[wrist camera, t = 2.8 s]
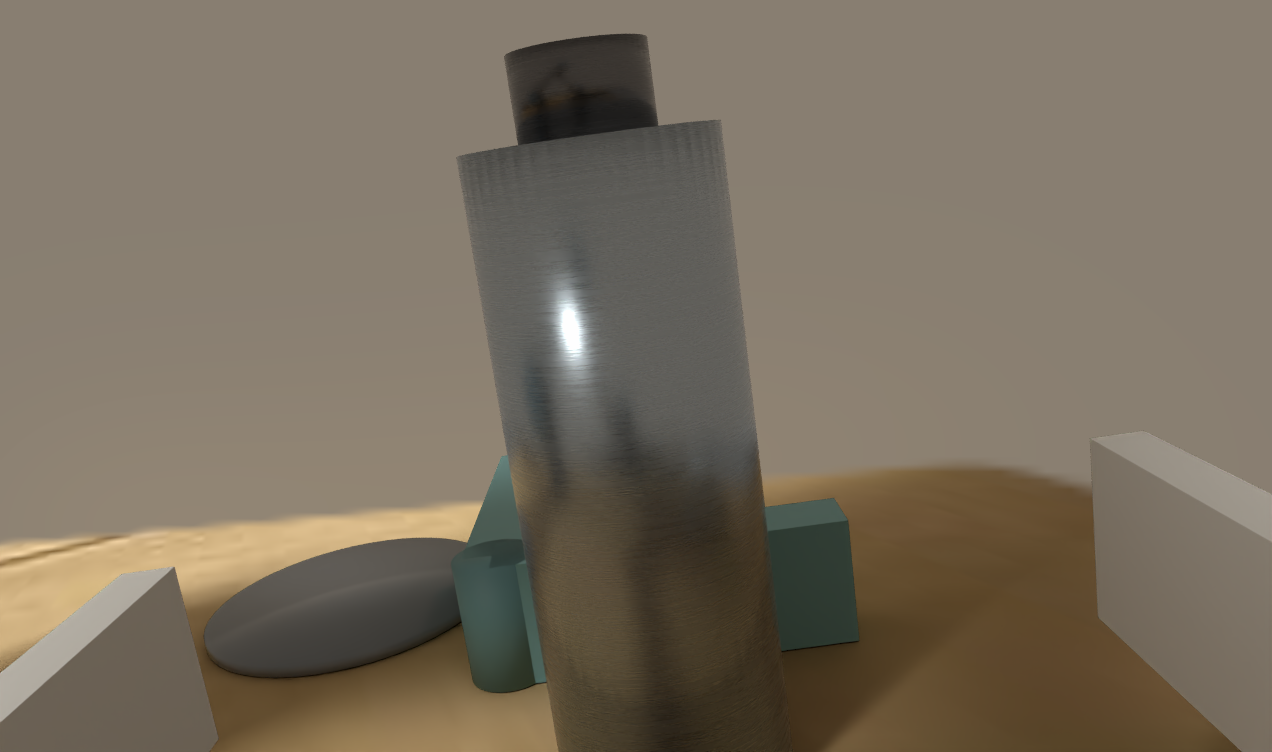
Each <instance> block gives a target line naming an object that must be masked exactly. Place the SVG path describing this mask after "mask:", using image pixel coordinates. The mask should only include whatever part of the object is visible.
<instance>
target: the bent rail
mask: <svg viewBox="0 0 1272 752" xmlns="http://www.w3.org/2000/svg"><path fill="white" fill-rule="evenodd" d="M765 512H766V521H767V530H768V538H769V547H770V556H771V565H772V573H773V582H774V591H775V600H776V608H777V617H778V626H779V635H780V643H781V651H784V650H791V649H799V648H807V647H814V646H822V645H829V644H837V643H844V642H852V641H859V632H858V621H857V610H856V599H855V589H854V578H853V567H852V556H851V545H850V535H849V524H848V519H847V518H846V516H845V515H844V513H843V511H842V510H841V508H840V507H839V505H838V504H837V502H836V501H835V499H834V498H830V499H822V500H815V501H807V502H800V503H793V504H785V505H778V506H770V507H765ZM451 568H452V573H453V578H454V583H455V589H456V594H457V599H458V605H459V610H460V615H461V621H462V626H463V631H464V637H465V642H466V647H467V653H468V658H469V663H470V668H471V674H472V679H473V683H474V684H475V686H477V687H478V688H479V689H481V690H484V691H488V692H497V693H500V692H511V691H516V690H520V689H523V688H526V687H529V686H531V685H533V684H535V683H542V682H546V676H545V670H544V664H543V658H542V653H541V647H540V641H539V635H538V629H537V624H536V618H535V612H534V606H533V600H532V594H531V589H530V583H529V577H528V571H527V565H526V560H525V554H524V548H523V542H522V536H521V531H520V525H519V519H518V513H517V507H516V501H515V496H514V490H513V484H512V478H511V472H510V467H509V461H508V455H507V456H502V457H501V459H500V462H499V464H498V467H497V469H496V472H495V474H494V477H493V480H492V482H491V485H490V487H489V490H488V492H487V495H486V497H485V500H484V502H483V505H482V507H481V510H480V512H479V515H478V517H477V520H476V523H475V525H474V528H473V530H472V533H471V535H470V538H469V540H468V543H467V545H466V548H465V550H463V551H461V552H459V553H458V554H457V555H456V556H454V558H453V559H452V561H451Z"/></svg>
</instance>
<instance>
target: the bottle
mask: <svg viewBox="0 0 1272 752" xmlns="http://www.w3.org/2000/svg"><path fill="white" fill-rule="evenodd" d="M504 59H505V66H506V72H507V78H508V85H509V91H510V97H511V103H512V109H513V116H514V122H515V128H516V135H517V140H518V146H511V147H505V148H499V149H494V150H488V151H482V152H476V153H471V154H466V155H462V156H458V157H457V158H456V159H457V164H458V170H459V176H460V182H461V188H462V193H463V199H464V205H465V210H466V217H467V222H468V228H469V234H470V240H471V246H472V251H473V257H474V263H475V269H476V275H477V281H478V286H479V292H480V298H481V304H482V309H483V315H484V321H485V327H486V333H487V339H488V344H489V349H490V356H491V362H492V368H493V373H494V379H495V385H496V391H497V396H498V403H499V408H500V414H501V420H502V426H503V432H504V438H505V443H506V449H507V455H508V461H509V467H510V472H511V478H512V484H513V490H514V496H515V501H516V507H517V513H518V519H519V525H520V531H521V536H522V542H523V548H524V554H525V560H526V565H527V571H528V577H529V583H530V589H531V594H532V600H533V606H534V612H535V618H536V624H537V629H538V635H539V641H540V647H541V653H542V658H543V664H544V670H545V676H546V682H547V687H548V693H549V699H550V705H551V711H552V717H553V722H554V728H555V734H556V740H557V746H558V751H559V752H793V749H792V740H791V731H790V722H789V714H788V705H787V696H786V687H785V679H784V670H783V661H782V652H781V643H780V635H779V626H778V617H777V608H776V600H775V591H774V582H773V573H772V565H771V556H770V547H769V538H768V530H767V521H766V512H765V503H764V495H763V486H762V477H761V469H760V459H759V451H758V442H757V433H756V425H755V417H754V407H753V398H752V389H751V381H750V372H749V363H748V355H747V347H746V337H745V328H744V320H743V310H742V302H741V293H740V284H739V275H738V267H737V258H736V249H735V240H734V232H733V223H732V214H731V205H730V197H729V188H728V179H727V170H726V162H725V153H724V144H723V136H722V126H721V120H709V121H698V122H687V123H679V124H670V125H661V126H658V121H657V120H658V119H657V112H656V104H655V96H654V88H653V80H652V72H651V64H650V57H649V49H648V41H647V36H645V35H640V34H610V35H598V36H589V37H580V38H574V39H566V40H560V41H554V42H548V43H543V44H539V45H534V46H530V47H526V48H522V49H518V50H515V51H512V52H510V53H508V54H506V55H505V56H504Z"/></svg>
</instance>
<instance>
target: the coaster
mask: <svg viewBox="0 0 1272 752" xmlns="http://www.w3.org/2000/svg"><path fill="white" fill-rule="evenodd" d="M466 545H467V543H466V542H461V541H457V540H451V539H443V538H406V539H395V540H386V541H380V542H373V543H368V544H363V545H358V546H353V547H349V548H345V549H341V550H337V551H333V552H330V553H326V554H323V555H319V556H316V557H313V558H310V559H307V560H304V561H302V562H299V563H297V564H294V565H291V566H289V567H286V568H284V569H282V570H280V571H277V572H275V573H273V574H271V575H269V576H267V577H265V578H263V579H261V580H259V581H257V582H255V583H253V584H252V585H250V586H248V587H247V588H245V589H243V590H242V591H240V592H239V593H237V594H236V595H234V596H233V597H232V598H231V599H229V600H228V601H227V602H226V603H224V604H223V605H222V606H221V607H220V608H219V609H218V610H217V611H216V612H215V613H214V615H213V616H212V617H211V619H210V620H209V622H208V624H207V626H206V628H205V632H204V641H205V646H206V650H207V653H208V655H209V657H210V658H211V660H212V661H213V662H214V663H216V664H217V665H218V666H220V667H222V668H224V669H226V670H228V671H231V672H234V673H238V674H242V675H248V676H255V677H271V678H276V677H297V676H307V675H315V674H322V673H328V672H334V671H338V670H343V669H347V668H352V667H356V666H360V665H363V664H367V663H370V662H374V661H378V660H380V659H383V658H386V657H389V656H392V655H395V654H398V653H400V652H403V651H405V650H408V649H410V648H413V647H415V646H418V645H420V644H422V643H424V642H426V641H428V640H430V639H432V638H434V637H436V636H438V635H440V634H442V633H443V632H445V631H447V630H449V629H450V628H452V627H454V626H455V625H457V624H458V623H460V622H461V615H460V610H459V605H458V599H457V594H456V589H455V583H454V578H453V573H452V568H451V561H452V559H453V558H454V556H456V555H457V554H458V553H459V552H461V551H463V550H465V548H466Z"/></svg>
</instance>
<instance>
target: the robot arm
mask: <svg viewBox="0 0 1272 752" xmlns="http://www.w3.org/2000/svg"><path fill="white" fill-rule="evenodd" d="M1090 448H1091V449H1090V450H1091V473H1092V495H1093V518H1094V540H1095V563H1096V585H1097V608H1098V618H1099V619H1100V620H1101V621H1102V622H1103V623H1105V624H1106V625H1107V626H1108V627H1109V628H1110V629H1111V630H1112V631H1113V632H1114V633H1115V634H1116V635H1117V636H1118V637H1120V638H1121V639H1122V640H1123V641H1124V642H1125V643H1126V644H1127V645H1128V646H1129V647H1130V648H1131V649H1132V650H1133V651H1135V652H1136V653H1137V654H1138V655H1139V656H1140V657H1141V658H1142V659H1143V660H1144V661H1145V662H1146V663H1147V664H1148V665H1149V666H1151V667H1152V668H1153V669H1154V670H1155V671H1156V672H1157V673H1158V674H1159V675H1160V676H1161V677H1162V678H1163V679H1164V680H1166V681H1167V682H1168V683H1169V684H1170V685H1171V686H1172V687H1173V688H1174V689H1175V690H1176V691H1177V692H1178V693H1179V694H1181V695H1182V696H1183V697H1184V698H1185V699H1186V700H1187V701H1188V702H1189V703H1190V704H1191V705H1192V706H1193V707H1194V708H1195V709H1197V710H1198V711H1199V712H1200V713H1201V714H1202V715H1203V716H1204V717H1205V718H1206V719H1207V720H1208V721H1209V722H1210V723H1212V724H1213V725H1214V726H1215V727H1216V728H1217V729H1218V730H1219V731H1220V732H1221V733H1222V734H1223V735H1224V736H1225V737H1227V738H1228V739H1229V740H1230V741H1231V742H1232V743H1233V744H1234V745H1235V746H1236V747H1237V748H1238V749H1239V750H1240V751H1241V752H1272V494H1270V493H1268V492H1266V491H1264V490H1262V489H1260V488H1258V487H1256V486H1254V485H1252V484H1250V483H1248V482H1246V481H1244V480H1242V479H1240V478H1238V477H1236V476H1234V475H1232V474H1230V473H1228V472H1226V471H1224V470H1222V469H1220V468H1218V467H1216V466H1214V465H1212V464H1210V463H1208V462H1206V461H1204V460H1202V459H1200V458H1198V457H1196V456H1194V455H1192V454H1190V453H1188V452H1186V451H1184V450H1182V449H1180V448H1178V447H1176V446H1174V445H1172V444H1169V443H1168V442H1166V441H1164V440H1162V439H1160V438H1158V437H1155V436H1154V435H1152V434H1150V433H1148V432H1146V431H1139V432H1131V433H1124V434H1117V435H1110V436H1103V437H1095V438H1090ZM218 739H219V738H218V734H217V730H216V726H215V723H214V719H213V715H212V711H211V707H210V703H209V699H208V695H207V691H206V688H205V684H204V680H203V676H202V672H201V668H200V664H199V660H198V657H197V653H196V649H195V645H194V641H193V637H192V633H191V629H190V625H189V622H188V618H187V614H186V610H185V606H184V602H183V598H182V594H181V591H180V587H179V583H178V579H177V575H176V571H175V567H168V568H161V569H154V570H147V571H140V572H133V573H126V574H121V575H120V576H119V577H117V578H116V579H115V580H114V581H112V582H111V583H110V584H109V585H108V586H106V587H105V588H104V589H103V590H101V591H100V592H99V593H98V594H97V595H95V596H94V597H93V598H92V599H90V600H89V601H88V602H87V603H85V604H84V605H83V606H82V607H81V608H79V609H78V610H77V611H76V612H74V613H73V614H72V615H71V616H70V617H68V618H67V619H66V620H65V621H63V622H62V623H61V624H60V625H58V626H57V627H56V628H55V629H54V630H52V631H51V632H50V633H49V634H47V635H46V636H45V637H44V638H43V639H41V640H40V641H39V642H38V643H36V644H35V645H34V646H33V647H31V648H30V649H29V650H28V651H27V652H25V653H24V654H23V655H22V656H20V657H19V658H18V659H17V660H16V661H14V662H13V663H12V664H11V665H9V666H8V667H7V668H6V669H4V670H3V671H2V672H1V673H0V752H210V750H211V749H212V747H213V746H214V745H215V743H216V742H217V740H218Z"/></svg>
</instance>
